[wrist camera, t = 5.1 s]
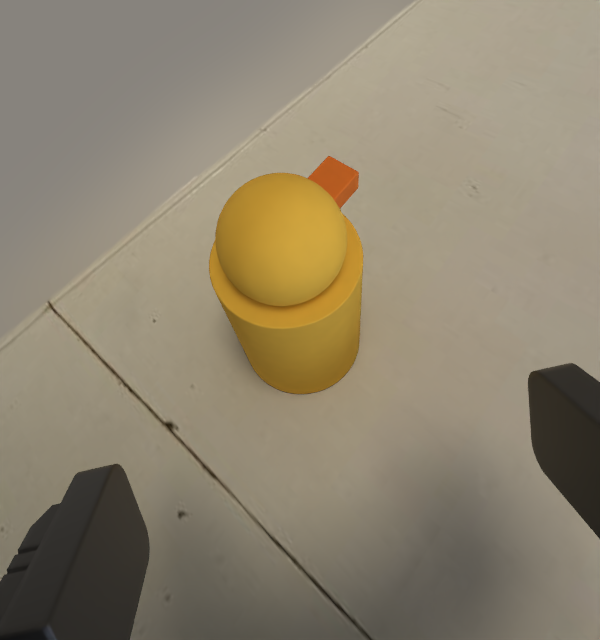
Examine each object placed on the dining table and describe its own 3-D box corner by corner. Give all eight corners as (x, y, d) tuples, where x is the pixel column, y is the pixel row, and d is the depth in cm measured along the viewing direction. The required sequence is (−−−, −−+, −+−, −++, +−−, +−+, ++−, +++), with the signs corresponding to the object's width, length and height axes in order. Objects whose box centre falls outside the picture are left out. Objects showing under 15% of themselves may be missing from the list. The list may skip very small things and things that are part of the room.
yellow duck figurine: (312, 417, 22) (287, 317, 13) (223, 350, 24) (145, 219, 15) (391, 316, 24) (417, 164, 15) (302, 259, 25) (276, 90, 16)
